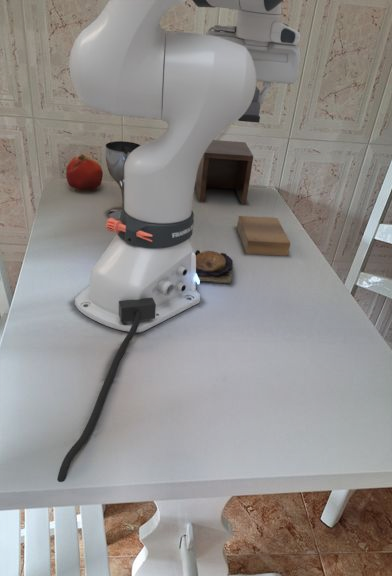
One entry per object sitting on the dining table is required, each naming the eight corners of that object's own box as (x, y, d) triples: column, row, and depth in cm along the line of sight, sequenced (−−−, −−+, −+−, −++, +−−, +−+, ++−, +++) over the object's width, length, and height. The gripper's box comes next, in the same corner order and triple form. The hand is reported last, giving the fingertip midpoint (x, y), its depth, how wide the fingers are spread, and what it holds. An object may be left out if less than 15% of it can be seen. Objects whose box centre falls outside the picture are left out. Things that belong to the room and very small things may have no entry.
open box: (245, 204, 125) (253, 156, 118) (199, 201, 124) (204, 152, 116) (238, 187, 134) (245, 142, 127) (195, 185, 133) (199, 138, 126)
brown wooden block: (287, 255, 103) (290, 242, 101) (246, 253, 102) (248, 240, 100) (274, 230, 114) (277, 217, 112) (236, 228, 112) (238, 215, 111)
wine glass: (104, 208, 115) (102, 141, 105) (137, 207, 117) (138, 141, 108) (109, 221, 109) (108, 152, 100) (144, 220, 111) (146, 152, 102)
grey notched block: (232, 109, 113) (235, 82, 109) (251, 111, 113) (255, 84, 110) (238, 121, 105) (242, 92, 102) (259, 122, 106) (263, 94, 102)
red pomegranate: (96, 181, 128) (94, 149, 123) (109, 193, 122) (108, 160, 117) (61, 184, 124) (58, 151, 119) (73, 197, 118) (71, 163, 113)
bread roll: (233, 286, 91) (236, 268, 89) (188, 281, 91) (190, 264, 89) (231, 259, 100) (233, 242, 97) (190, 255, 99) (191, 238, 97)
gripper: (208, 25, 96) (201, 102, 105) (308, 35, 99) (293, 109, 107) (205, 22, 101) (199, 95, 110) (300, 32, 104) (287, 103, 112)
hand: (246, 102), depth 108 cm, fingers closed on grey notched block, 4 cm apart
